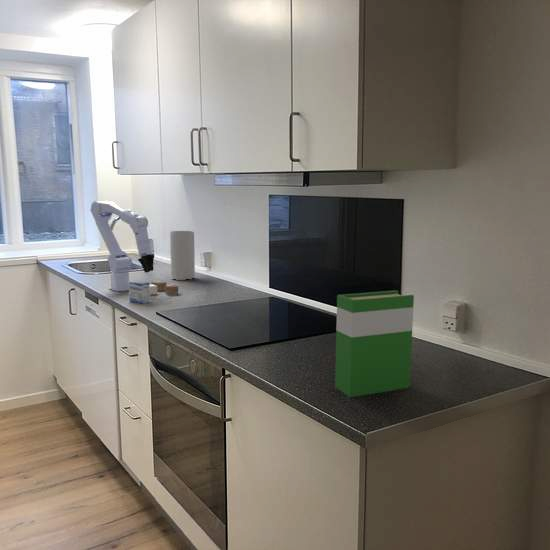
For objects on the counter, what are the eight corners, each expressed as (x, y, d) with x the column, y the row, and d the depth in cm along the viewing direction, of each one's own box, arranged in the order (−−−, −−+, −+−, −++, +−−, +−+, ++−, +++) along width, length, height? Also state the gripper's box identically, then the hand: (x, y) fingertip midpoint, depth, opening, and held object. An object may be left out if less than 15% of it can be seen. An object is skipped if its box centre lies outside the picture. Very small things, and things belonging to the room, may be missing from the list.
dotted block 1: (151, 290, 282) (151, 281, 282) (159, 289, 286) (159, 280, 285) (158, 291, 279) (158, 282, 278) (166, 290, 283) (166, 281, 282)
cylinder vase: (173, 276, 322) (172, 230, 318) (196, 276, 321) (196, 230, 317) (168, 280, 310) (167, 232, 306) (192, 280, 309) (191, 233, 305)
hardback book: (392, 378, 158) (396, 290, 154) (409, 387, 151) (413, 295, 147) (334, 387, 151) (337, 295, 147) (349, 397, 144) (352, 300, 140)
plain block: (142, 293, 273) (142, 285, 273) (152, 292, 276) (151, 284, 276) (147, 295, 269) (147, 286, 269) (157, 294, 272) (157, 285, 272)
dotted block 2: (164, 293, 275) (164, 284, 274) (175, 292, 277) (175, 283, 276) (167, 295, 270) (167, 286, 269) (178, 294, 272) (178, 285, 271)
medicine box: (129, 301, 254) (128, 282, 253) (136, 300, 258) (135, 280, 257) (143, 303, 251) (142, 283, 250) (150, 301, 255) (149, 282, 253)
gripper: (155, 238, 265) (161, 268, 265) (148, 242, 278) (154, 271, 278) (139, 241, 262) (145, 271, 262) (133, 245, 275) (139, 274, 275)
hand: (149, 271), depth 270 cm, fingers open, 7 cm apart
